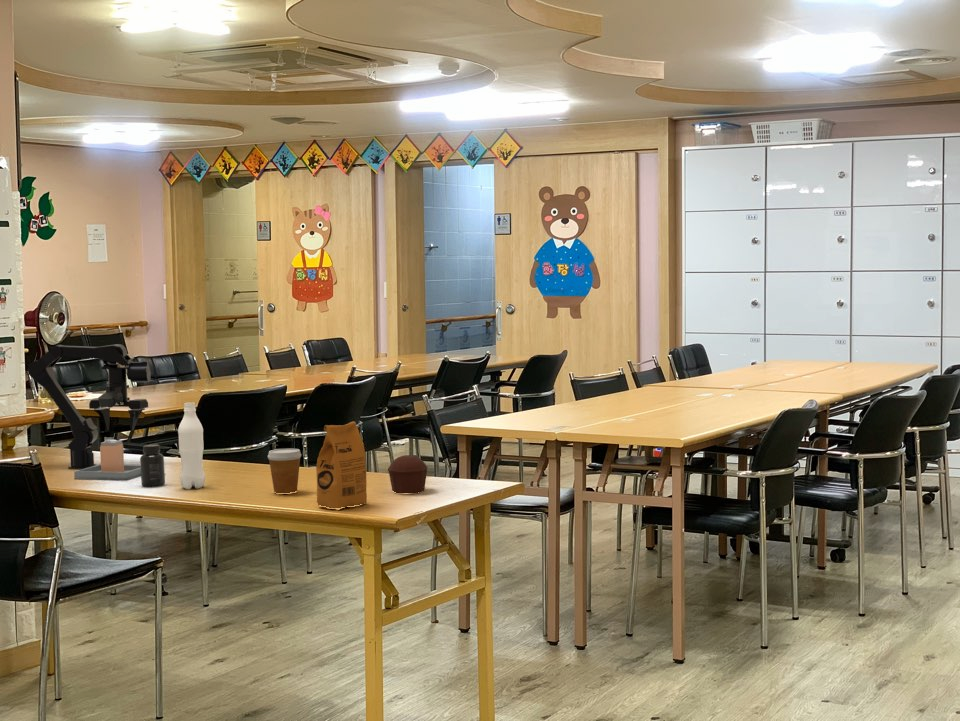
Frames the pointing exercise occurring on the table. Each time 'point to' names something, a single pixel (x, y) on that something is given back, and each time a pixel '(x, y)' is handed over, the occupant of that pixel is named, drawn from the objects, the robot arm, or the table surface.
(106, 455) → the tall box
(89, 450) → the robot arm
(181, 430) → the water bottle
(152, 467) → the supplement bottle
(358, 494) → the coffee package
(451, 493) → the table surface
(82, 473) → the tray
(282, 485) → the disposable coffee cup
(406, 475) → the muffin
